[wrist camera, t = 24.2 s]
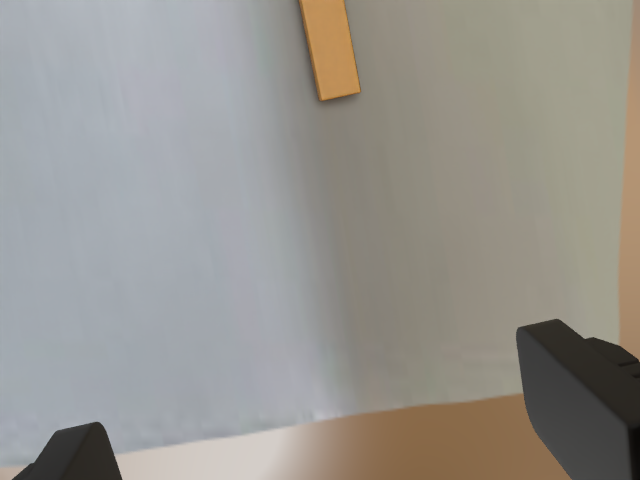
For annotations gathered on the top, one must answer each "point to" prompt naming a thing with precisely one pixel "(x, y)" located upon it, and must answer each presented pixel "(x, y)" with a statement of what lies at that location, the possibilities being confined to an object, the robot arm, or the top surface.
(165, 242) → the top surface
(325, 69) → the brush
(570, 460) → the robot arm
